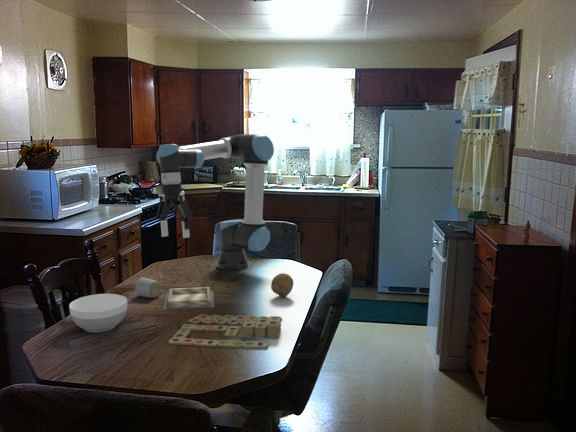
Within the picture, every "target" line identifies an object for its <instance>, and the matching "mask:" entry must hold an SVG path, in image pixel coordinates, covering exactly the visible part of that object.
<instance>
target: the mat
mask: <svg viewBox="0 0 576 432" xmlns="http://www.w3.org/2000/svg"><path fill="white" fill-rule="evenodd" d="M168 297H169V292H166V295H165V301H164V305H163V311H166V310H167V311H168V310H187V309H189V310H190V309H206V308H207V309H210V308H215V297H214V290H210V306H193V307H172V308H168Z"/></svg>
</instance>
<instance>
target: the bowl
mask: <svg viewBox="0 0 576 432" xmlns="http://www.w3.org/2000/svg"><path fill="white" fill-rule="evenodd" d="M68 308H69V314H70V317H71V319H72V321H73V322H74V324H75V325H77V327H79V328H80V329H83V330H84V331H85V332H88V333H104V332H107V331H111V330H113V329H115V328H116V327H117V325H118V324H120V323H121V322H122V321H123V319H124V317H125V316H126V314H127V310H128V298H127V296H124V295H122V294H121V295H120V294H115V293H97V294H91V295H86V296H81V297H79V298H77V299H74V300H73V301H71V302H70V303H69V305H68Z"/></svg>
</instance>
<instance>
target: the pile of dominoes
mask: <svg viewBox="0 0 576 432" xmlns="http://www.w3.org/2000/svg"><path fill="white" fill-rule="evenodd" d="M282 321H283V317H281V316H274V315H272V316H264V315H263V316H259V317H258V316H254V315H249V316H244V315H236V316H234V315H230V314H225V315H223V316H222V315H219V314H212V315H208V314H204V313H203V314H199V315H197V316H194V317H192V318H190V319H188V323H191V324H188V323H186V324H185V323H184V324H183V325H182V326H181V327H180V329H178V330H177V331H176V333H175V334H174V335H173V336H172V337H171V338H170V339H169V340H168V342H167V343H168V345H176V346H177V345H178V346H179V345H180V346H196V347H209V348H210V347H211V348H215V347H216V348H217V347H219V348H232V349H242V348H243V349H248V350H249V349H251V350H253V349H254V350H256V349H257V350H267V349H268V348H269V346H270V344H269V343H270V342H268V341H252V340H245V341H243V340H233V339H232V340H230V339H228V340H227V339H220V340H218V339H202V338H196V339H195V338H192V337H191V338H187V337H188V335H190V333H191V332H192V331H206V332H225V333H224V337H228V338H231V337H232V338H235V337H237V336H238V334H239V331H240V329H241V331H242V333H241V335H242V336H241V337H242V338H244V339H245V338H247V339H248V338H249V339H254V338H255V339H263V340H264V339H265V340H266V339H268V340H279V339H280V335H281V331H282V330H281V329H282ZM200 323H201V324H200ZM213 323H214V324H213ZM225 324H227V325H225ZM228 325H229V326H228ZM238 325H241V326H242V328H241V327H240V326H238Z"/></svg>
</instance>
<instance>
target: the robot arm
mask: <svg viewBox="0 0 576 432" xmlns="http://www.w3.org/2000/svg"><path fill="white" fill-rule="evenodd" d="M274 153H275V147H274V144H273V141H272V140H271V138H270V137H269V136H267V135H263V134H259V133H257V134H253V133H252V134H250V133H246V134H245V133H242V134H241V133H240V134H236V135H232V136H231V135H230V136H225V137H221V138H220V139H219V140H214V141H208V142H202V143H201V142H200V143H194V144H187V145H181V146H179V145H178V143H176V144H175V143H167V144H160V146H159V147H158V150H157V151H156V155H155V157H156V158H155V159H156V162H157V163H158V164H159V166H160V169H159V170H160V180H161V184H162V185H161V193H162V195H160V196H159V202H158V207H157V211H156V216H155V218H156V219H157V220H159V223H160V231H161V233H160V234H161V237H162V238H164V237H169V228H168V227H169V226H168V219H167V216H168V215H169V212H170V210H171V208H174V209H175V210H176V211H177V212H178V214H179V216H180V217H181V219H182V220H181V229H182V230H181V231H182V238H183V239H187V238H190V235H191V234H190V225H191V224H190V221H191V220H193V218H194V217H193V214H192V211H191V209H190V206H189V204H188V200H187V196H186V195H184V194H183V195H181V194H182V193H183V192H182V184H181V183H182V178H181V176H182V175H181V169H185V168H186V169H188V168H189V169H190V168H191V169H195V168H200V167H202V166H203V165H204V162H205V160H211V159H217V158H222V159H239V160H241V159H242V164H243V165H244V166H245V184H244V186H245V187H244V211H243V212H244V213H243V214H244V217H243V219H239V218H238V219H230V220H229V219H228V220H224V221H222V222H220V225H219V238H220V239H219V240H220V241H219V243H220V249H219V250H220V251H219V255H218V257H217V261H216V268H218V269H220V270H225V271H237V270H238V271H239V270H243V269H246V268H247V267H248V266H249V261H248V258H247V256H246V252H245V250H249V251H251V252H261V251H263V250H265V248H266V246H268V244H269V243H270V240H271V233H270V230H269V228H268V227H266V221H265V220H264V219H263V217H264V216H263V215H264V214H263V213H264V212H263V211H264V192H265V191H264V189H265V168H266V167H267V166H268V165H269V161H270V160H271V159H272V157H273V156H274Z"/></svg>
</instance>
